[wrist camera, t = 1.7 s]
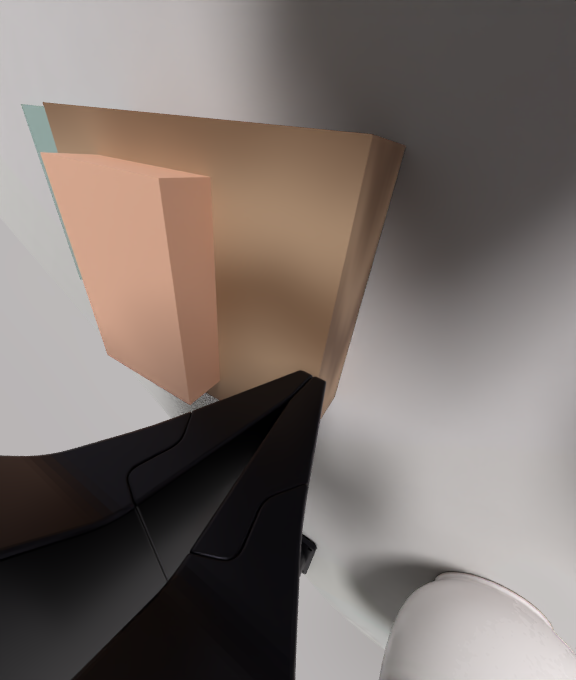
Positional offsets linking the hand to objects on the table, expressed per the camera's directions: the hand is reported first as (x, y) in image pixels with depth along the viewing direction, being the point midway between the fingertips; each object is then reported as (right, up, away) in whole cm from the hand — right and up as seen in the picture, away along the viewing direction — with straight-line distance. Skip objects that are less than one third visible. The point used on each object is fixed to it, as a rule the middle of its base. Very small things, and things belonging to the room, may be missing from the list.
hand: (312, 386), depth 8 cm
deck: (-3, +6, +7) cm, 10 cm away
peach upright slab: (-6, +4, +5) cm, 9 cm away
